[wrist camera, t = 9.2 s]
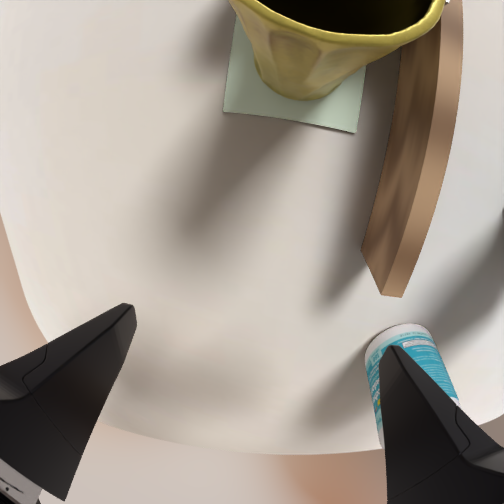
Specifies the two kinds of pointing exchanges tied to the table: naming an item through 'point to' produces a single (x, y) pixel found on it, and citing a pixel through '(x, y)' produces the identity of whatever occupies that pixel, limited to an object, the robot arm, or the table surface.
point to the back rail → (416, 151)
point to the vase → (327, 38)
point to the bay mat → (274, 105)
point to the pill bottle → (419, 348)
